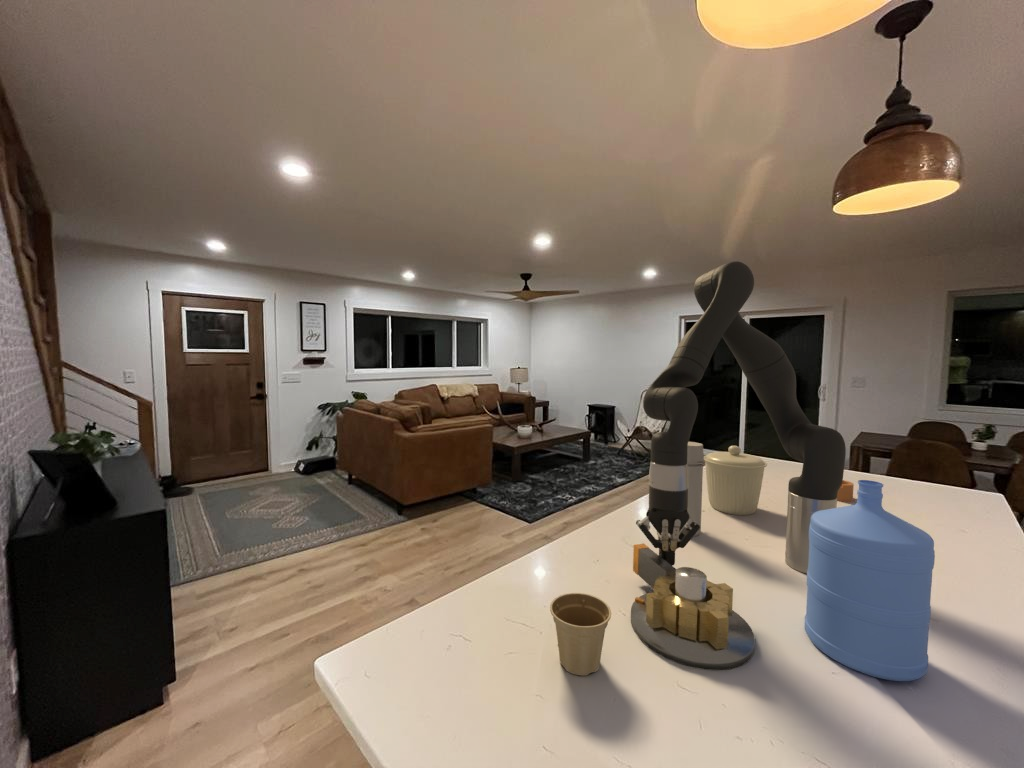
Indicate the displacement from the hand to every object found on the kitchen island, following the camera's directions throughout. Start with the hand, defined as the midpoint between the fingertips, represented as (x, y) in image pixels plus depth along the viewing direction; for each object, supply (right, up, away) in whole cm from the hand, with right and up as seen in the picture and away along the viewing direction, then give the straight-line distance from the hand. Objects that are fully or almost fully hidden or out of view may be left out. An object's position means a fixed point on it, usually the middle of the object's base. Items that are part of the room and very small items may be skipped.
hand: (666, 566), depth 87 cm
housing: (-1, -6, -13) cm, 14 cm away
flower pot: (-22, -6, -21) cm, 31 cm away
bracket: (+83, -3, +64) cm, 105 cm away
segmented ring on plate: (-3, -4, -9) cm, 10 cm away
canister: (+39, -3, +48) cm, 62 cm away
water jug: (+26, -6, -17) cm, 32 cm away
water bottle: (+17, -4, +31) cm, 36 cm away
